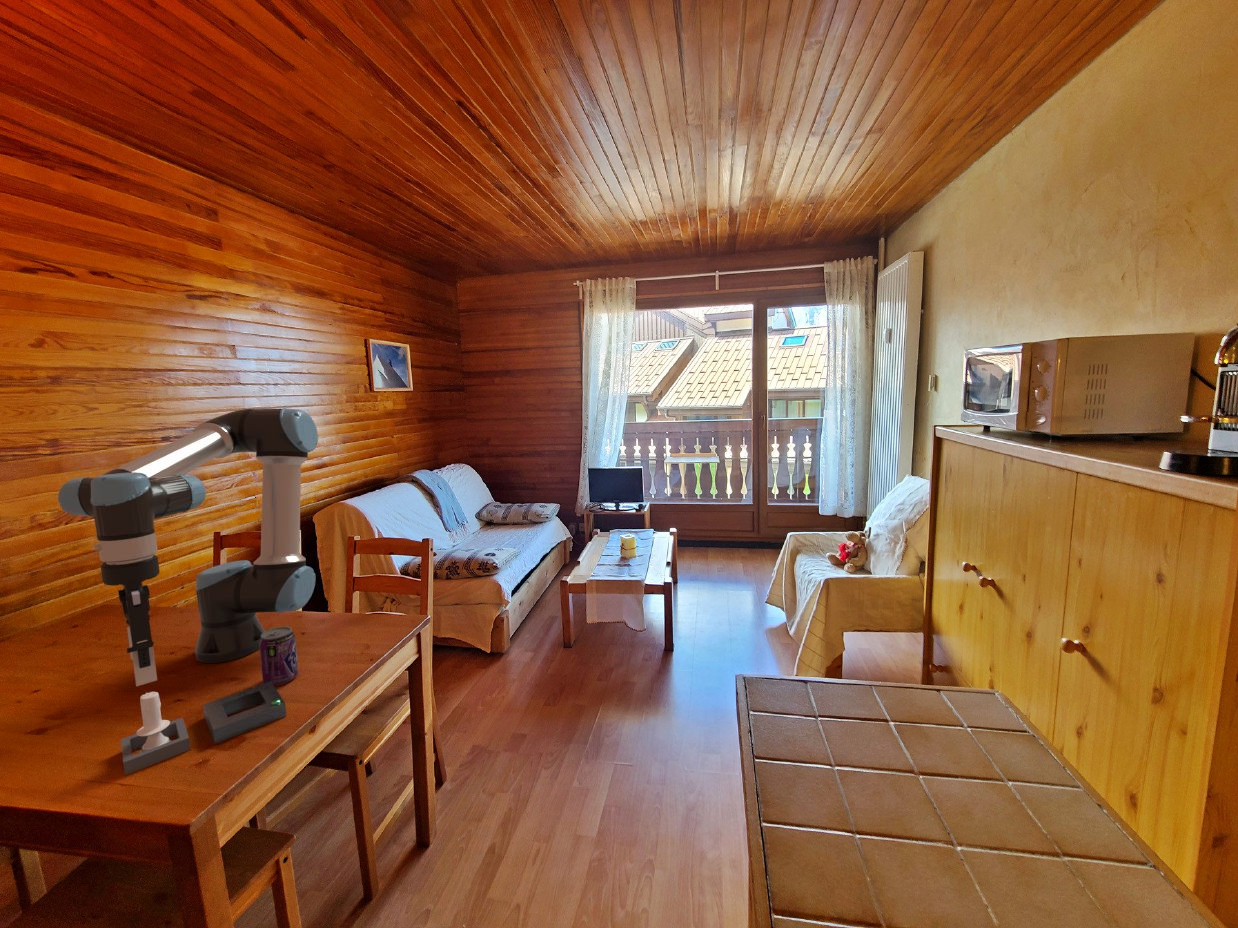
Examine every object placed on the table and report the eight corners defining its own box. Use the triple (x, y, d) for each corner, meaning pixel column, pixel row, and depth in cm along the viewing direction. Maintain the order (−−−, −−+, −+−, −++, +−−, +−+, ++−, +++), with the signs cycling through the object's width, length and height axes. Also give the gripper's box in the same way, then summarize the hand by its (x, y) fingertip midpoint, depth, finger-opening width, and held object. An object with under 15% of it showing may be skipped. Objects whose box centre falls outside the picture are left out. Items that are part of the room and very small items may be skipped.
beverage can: (281, 689, 116) (276, 640, 115) (255, 686, 118) (250, 637, 116) (305, 673, 123) (301, 626, 122) (281, 670, 125) (276, 624, 123)
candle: (129, 762, 93) (121, 702, 92) (150, 743, 99) (142, 686, 97) (163, 758, 94) (154, 698, 93) (181, 739, 100) (174, 682, 98)
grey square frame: (122, 751, 96) (120, 739, 96) (184, 728, 103) (182, 717, 102) (125, 775, 90) (123, 762, 90) (190, 749, 97) (189, 737, 96)
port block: (204, 717, 106) (202, 702, 106) (271, 693, 115) (270, 679, 115) (215, 744, 98) (213, 727, 98) (286, 715, 107) (285, 700, 106)
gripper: (98, 549, 97) (112, 653, 100) (101, 580, 80) (118, 704, 83) (151, 541, 103) (163, 640, 105) (164, 568, 86) (178, 685, 88)
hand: (143, 668), depth 94 cm, fingers open, 13 cm apart
